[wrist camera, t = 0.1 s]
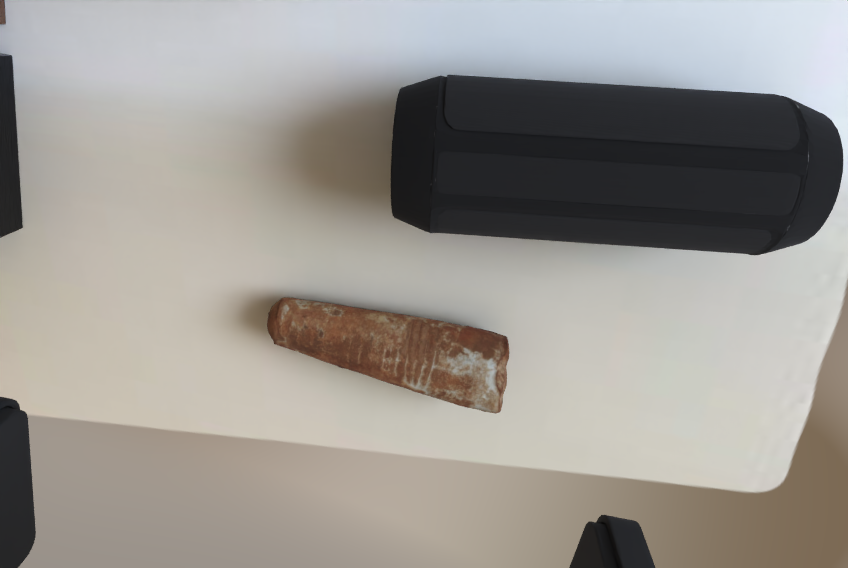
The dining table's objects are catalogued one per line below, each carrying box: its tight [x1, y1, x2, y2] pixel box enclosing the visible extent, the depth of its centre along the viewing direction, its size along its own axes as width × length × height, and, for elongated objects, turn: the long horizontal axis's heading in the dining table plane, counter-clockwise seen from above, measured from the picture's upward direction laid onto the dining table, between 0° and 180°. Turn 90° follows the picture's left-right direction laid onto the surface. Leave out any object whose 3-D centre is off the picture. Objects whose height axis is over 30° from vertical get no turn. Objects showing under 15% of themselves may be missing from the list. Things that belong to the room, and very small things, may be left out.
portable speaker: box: [391, 75, 843, 255], centre depth 39 cm, size 26×10×10 cm, turn 87°
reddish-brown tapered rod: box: [267, 298, 509, 413], centre depth 47 cm, size 6×19×6 cm, turn 76°
